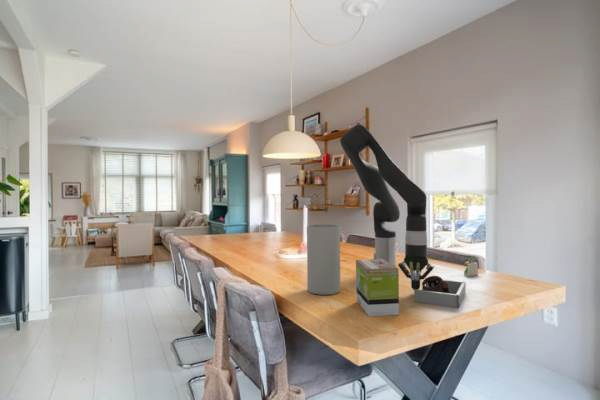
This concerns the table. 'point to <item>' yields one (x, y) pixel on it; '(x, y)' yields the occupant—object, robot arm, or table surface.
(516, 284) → the table surface
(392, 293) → the tea box
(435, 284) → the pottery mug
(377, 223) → the robot arm
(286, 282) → the table surface
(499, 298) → the table surface
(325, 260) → the cylinder vase
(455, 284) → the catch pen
